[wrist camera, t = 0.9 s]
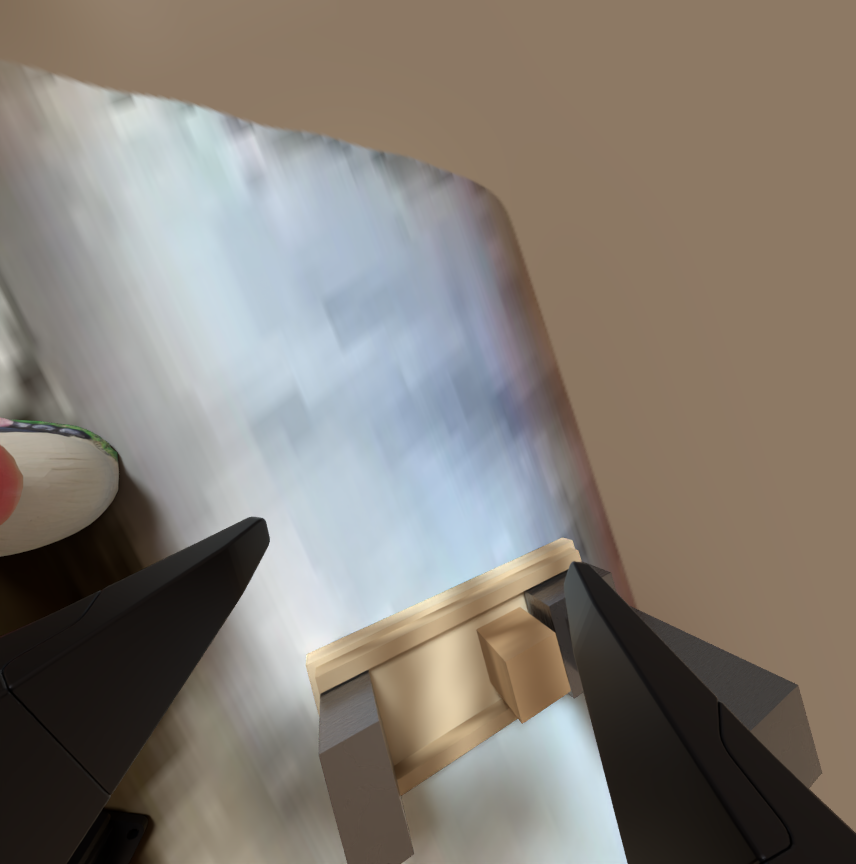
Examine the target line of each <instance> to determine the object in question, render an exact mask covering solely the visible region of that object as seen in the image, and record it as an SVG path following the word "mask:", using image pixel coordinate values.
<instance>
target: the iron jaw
mask: <svg viewBox="0 0 856 864" xmlns="http://www.w3.org/2000/svg"><path fill="white" fill-rule="evenodd" d="M319 757H320V761H321V765H322V769H323V773H324V776H325V780H326V784H327V788H328V792H329V795H330V799H331V803H332V807H333V811H334V814H335V818H336V822H337V826H338V830H339V833H340V837H341V841H342V845H343V849H344V852H345V856H346V860H347V864H401V863H402V862H404V861H405V860H407V859H408V858H409V857H411V856H412V855H413V854H414V851H413V847H412V842H411V838H410V834H409V829H408V825H407V821H406V816H405V812H404V808H403V803H402V799H401V795H400V790H399V786H398V781H397V777H396V773H395V768H394V764H393V760H392V757H391V753H390V749H389V745H388V741H387V738H386V734H385V730H384V726H383V722H382V719H381V715H380V711H379V707H378V704H377V700H376V696H375V692H374V688H373V685H372V681H371V677H370V673H369V670H366V671H364V672H362V673H360V674H358V675H356V676H354V677H352V678H350V679H348V680H346V681H344V682H342V683H341V684H339V685H337V686H335V687H333V688H331V689H329V690H327V691H325V692H323V693H321V694H320V716H319Z"/></svg>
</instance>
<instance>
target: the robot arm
mask: <svg viewBox="0 0 856 864" xmlns="http://www.w3.org/2000/svg"><path fill="white" fill-rule="evenodd" d="M269 542H270V537H269V533H268V528H267V524H266V521H265V519H263V518H259V517H249V518H247V519H245V520H242V521H240V522H238V523H236V524H234V525H232V526H230V527H228V528H226V529H224V530H222V531H220V532H218V533H216V534H214V535H212V536H210V537H208V538H206V539H204V540H202V541H200V542H198V543H196V544H194V545H192V546H190V547H188V548H185V549H183V550H181V551H179V552H177V553H175V554H173V555H171V556H169V557H167V558H165V559H163V560H161V561H159V562H157V563H155V564H153V565H151V566H149V567H147V568H145V569H143V570H141V571H139V572H137V573H135V574H132V575H130V576H128V577H126V578H124V579H122V580H120V581H118V582H116V583H114V584H112V585H110V586H108V587H106V588H104V589H103V590H102V591H98V592H96V593H94V594H92V595H90V596H88V597H86V598H84V599H81V600H79V601H77V602H75V603H73V604H71V605H69V606H67V607H65V608H63V609H61V610H58V611H56V612H54V613H52V614H50V615H48V616H46V617H44V618H41V619H39V620H37V621H35V622H32V623H30V624H28V625H26V626H24V627H21V628H19V629H17V630H15V631H12V632H10V633H8V634H6V635H3V636H1V637H0V864H129V862H130V860H131V858H132V856H133V854H134V852H135V850H136V848H137V846H138V844H139V842H140V840H141V838H142V836H143V834H144V832H145V830H146V828H147V825H148V819H147V818H146V817H145V816H143V815H135V814H127V813H119V812H111V811H103V810H102V809H103V807H104V806H105V804H106V803H107V801H108V800H109V798H110V794H112V793H113V792H114V790H115V789H116V787H117V786H118V784H119V782H120V781H121V779H122V778H123V776H124V775H125V773H126V772H127V770H128V769H129V767H130V766H131V764H132V763H133V761H134V760H135V758H136V757H137V755H138V753H139V752H140V750H141V749H142V747H143V746H144V744H145V743H146V741H147V740H148V738H149V737H150V735H151V734H152V732H153V731H154V729H155V727H156V726H157V724H158V723H159V721H160V720H161V718H162V717H163V715H164V714H165V712H166V711H167V709H168V708H169V706H170V705H171V703H172V702H173V700H174V698H175V697H176V695H177V694H178V692H179V691H180V689H181V688H182V686H183V685H184V683H185V682H186V680H187V679H188V677H189V676H190V674H191V673H192V671H193V669H194V668H195V666H196V665H197V663H198V662H199V660H200V659H201V657H202V656H203V654H204V653H205V651H206V650H207V648H208V647H209V645H210V644H211V642H212V640H213V639H214V637H215V636H216V634H217V633H218V631H219V630H220V628H221V627H222V625H223V624H224V622H225V621H226V619H227V618H228V616H229V614H230V613H231V611H232V610H233V608H234V607H235V605H236V604H237V602H238V601H239V599H240V597H241V596H242V594H243V593H244V591H245V589H246V587H247V585H248V584H249V582H250V580H251V578H252V576H253V574H254V572H255V570H256V568H257V567H258V565H259V563H260V561H261V559H262V557H263V555H264V553H265V552H266V550H267V548H268V546H269ZM564 593H565V600H566V606H567V613H568V620H569V626H570V633H571V640H572V646H573V651H574V656H575V660H576V664H577V668H578V672H579V676H580V680H581V683H582V687H583V691H584V695H585V699H586V703H587V707H588V711H589V715H590V719H591V723H592V726H593V730H594V734H595V738H596V742H597V746H598V750H599V754H600V758H601V762H602V765H603V769H604V773H605V777H606V781H607V785H608V789H609V793H610V797H611V801H612V804H613V808H614V812H615V816H616V820H617V824H618V828H619V832H620V836H621V840H622V844H623V847H624V851H625V855H626V859H627V863H628V864H856V833H855V832H854V831H853V830H852V829H851V828H850V827H849V826H848V825H847V824H846V823H844V822H843V821H842V820H841V819H840V818H839V817H838V816H837V815H836V814H835V813H834V812H833V811H832V810H831V809H830V808H829V807H828V806H827V805H826V804H824V803H823V802H822V801H821V800H820V799H819V798H818V797H817V796H816V795H815V794H814V793H813V792H812V791H811V790H810V789H809V788H808V787H807V786H806V785H804V784H803V783H802V782H801V781H800V780H799V779H798V778H797V777H796V776H795V775H794V774H793V773H792V772H791V771H790V770H789V769H788V768H787V767H786V766H785V765H784V764H783V763H782V762H781V761H780V760H778V759H777V758H776V757H775V756H774V755H773V754H772V753H771V752H770V751H769V750H768V749H767V748H766V747H765V746H764V745H763V744H762V743H761V742H760V741H759V740H758V739H757V738H756V736H755V735H754V734H753V733H752V732H751V731H750V730H749V729H748V728H747V727H746V726H745V725H744V724H743V723H742V722H741V721H740V720H739V719H738V718H737V717H736V716H735V715H734V714H733V713H732V712H731V711H730V710H729V709H728V708H727V707H726V706H725V705H724V704H723V703H722V702H721V701H718V698H717V697H716V696H715V694H714V693H713V692H712V691H711V690H710V689H709V688H708V687H707V686H706V685H705V684H704V683H703V682H702V681H701V680H700V679H699V678H698V677H697V676H696V675H695V674H694V673H693V672H692V671H691V670H690V669H689V667H688V666H687V665H686V664H685V663H684V662H683V661H682V660H681V659H680V658H679V657H678V656H677V655H676V654H675V653H674V652H673V651H672V650H671V649H670V648H669V647H668V646H667V645H666V644H665V643H664V641H663V640H662V639H661V638H660V637H659V636H658V635H657V634H656V633H655V632H654V631H653V630H652V629H651V628H650V627H649V626H648V625H647V624H646V623H645V622H644V621H643V620H642V619H641V618H640V617H639V616H638V614H637V613H636V612H635V611H634V610H633V609H632V608H631V607H630V606H629V605H628V604H627V603H626V602H625V601H624V600H623V599H622V598H621V597H620V596H619V595H618V594H617V593H616V592H615V591H614V590H613V588H612V587H611V586H610V585H609V584H608V583H607V582H606V581H605V580H604V579H603V578H602V577H601V576H600V575H599V574H598V573H597V572H596V571H595V570H594V569H593V568H592V567H591V566H590V565H589V564H588V563H583V562H576V561H573V562H571V564H570V566H569V569H568V572H567V575H566V579H565V582H564ZM135 828H136V829H138V831H132V829H135Z"/></svg>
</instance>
